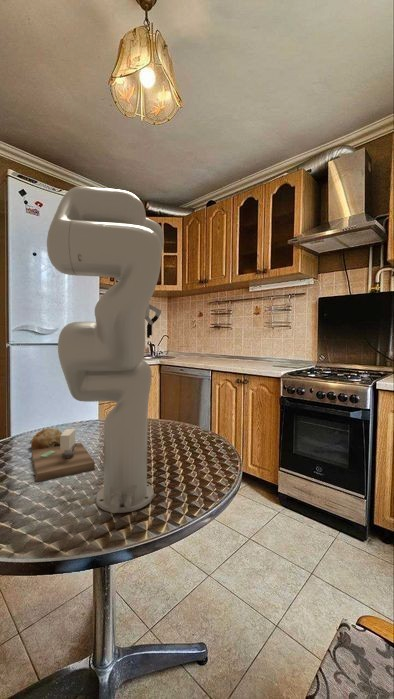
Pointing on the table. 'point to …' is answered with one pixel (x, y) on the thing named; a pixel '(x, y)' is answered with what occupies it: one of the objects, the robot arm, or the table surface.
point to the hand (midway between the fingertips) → (132, 337)
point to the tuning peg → (67, 442)
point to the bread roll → (46, 439)
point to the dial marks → (50, 453)
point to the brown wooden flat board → (61, 463)
